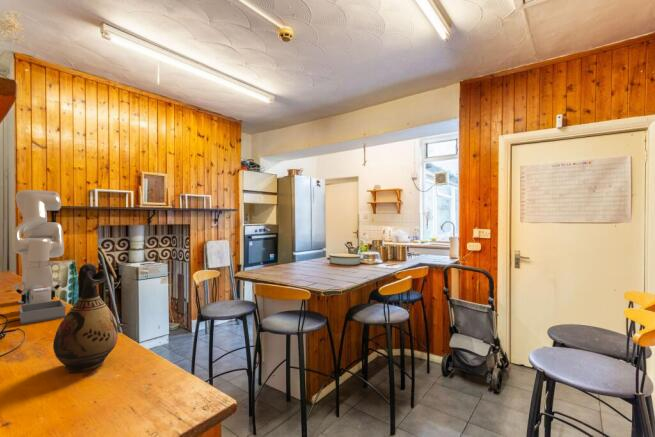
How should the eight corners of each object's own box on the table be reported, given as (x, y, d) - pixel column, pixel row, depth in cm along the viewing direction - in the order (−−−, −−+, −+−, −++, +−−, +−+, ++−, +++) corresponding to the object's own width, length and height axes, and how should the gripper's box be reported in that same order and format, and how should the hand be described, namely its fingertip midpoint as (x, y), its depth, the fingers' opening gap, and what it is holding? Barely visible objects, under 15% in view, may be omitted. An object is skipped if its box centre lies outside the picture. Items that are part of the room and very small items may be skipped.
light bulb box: (24, 310, 150) (24, 287, 150) (42, 306, 156) (42, 285, 156) (33, 313, 145) (33, 290, 145) (52, 310, 151) (52, 287, 151)
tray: (19, 316, 140) (19, 305, 140) (60, 310, 150) (60, 299, 150) (21, 325, 130) (21, 312, 130) (65, 317, 140) (65, 306, 140)
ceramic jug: (127, 362, 97) (127, 263, 97) (64, 383, 84) (64, 270, 84) (103, 349, 107) (104, 259, 107) (43, 366, 94) (44, 265, 94)
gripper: (61, 262, 160) (61, 296, 159) (12, 266, 147) (12, 303, 147) (63, 263, 154) (63, 299, 154) (13, 267, 142) (13, 306, 142)
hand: (38, 301), depth 151 cm, fingers open, 9 cm apart
